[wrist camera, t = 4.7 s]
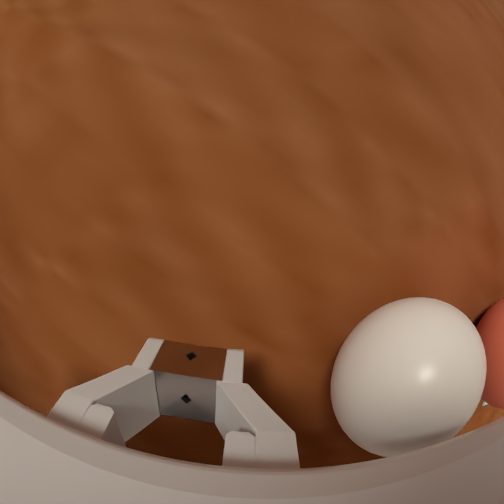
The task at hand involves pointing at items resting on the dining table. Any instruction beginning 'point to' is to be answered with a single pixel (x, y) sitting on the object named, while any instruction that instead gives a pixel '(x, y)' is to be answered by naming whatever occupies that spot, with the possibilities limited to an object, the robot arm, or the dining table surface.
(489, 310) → the red ball
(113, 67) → the dining table surface
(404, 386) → the cue ball
